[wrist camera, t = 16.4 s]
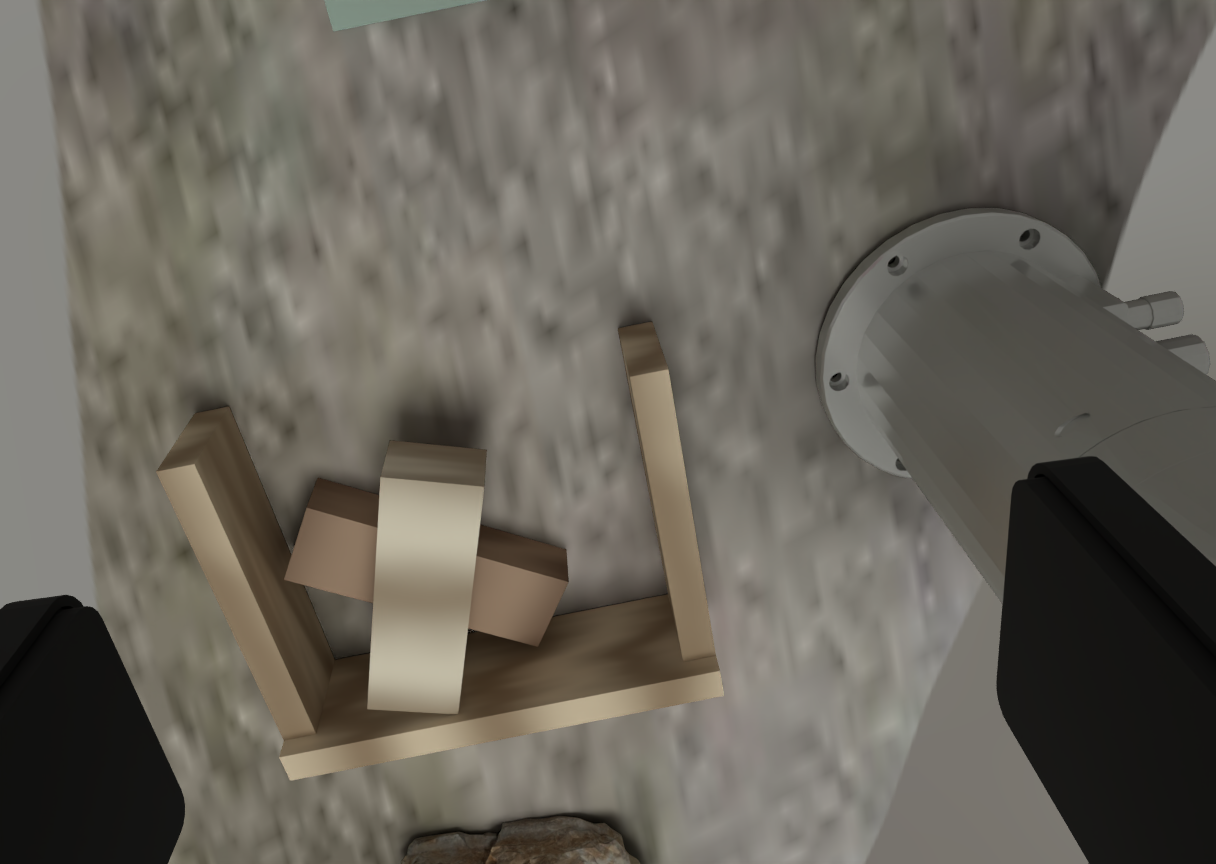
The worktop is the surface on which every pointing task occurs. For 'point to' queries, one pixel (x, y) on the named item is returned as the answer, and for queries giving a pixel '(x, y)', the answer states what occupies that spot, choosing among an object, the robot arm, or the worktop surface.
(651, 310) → the worktop surface
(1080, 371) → the robot arm
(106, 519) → the worktop surface
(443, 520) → the birch offcut
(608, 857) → the clay tablet
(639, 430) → the oak rack
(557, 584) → the walnut offcut
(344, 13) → the green mat
